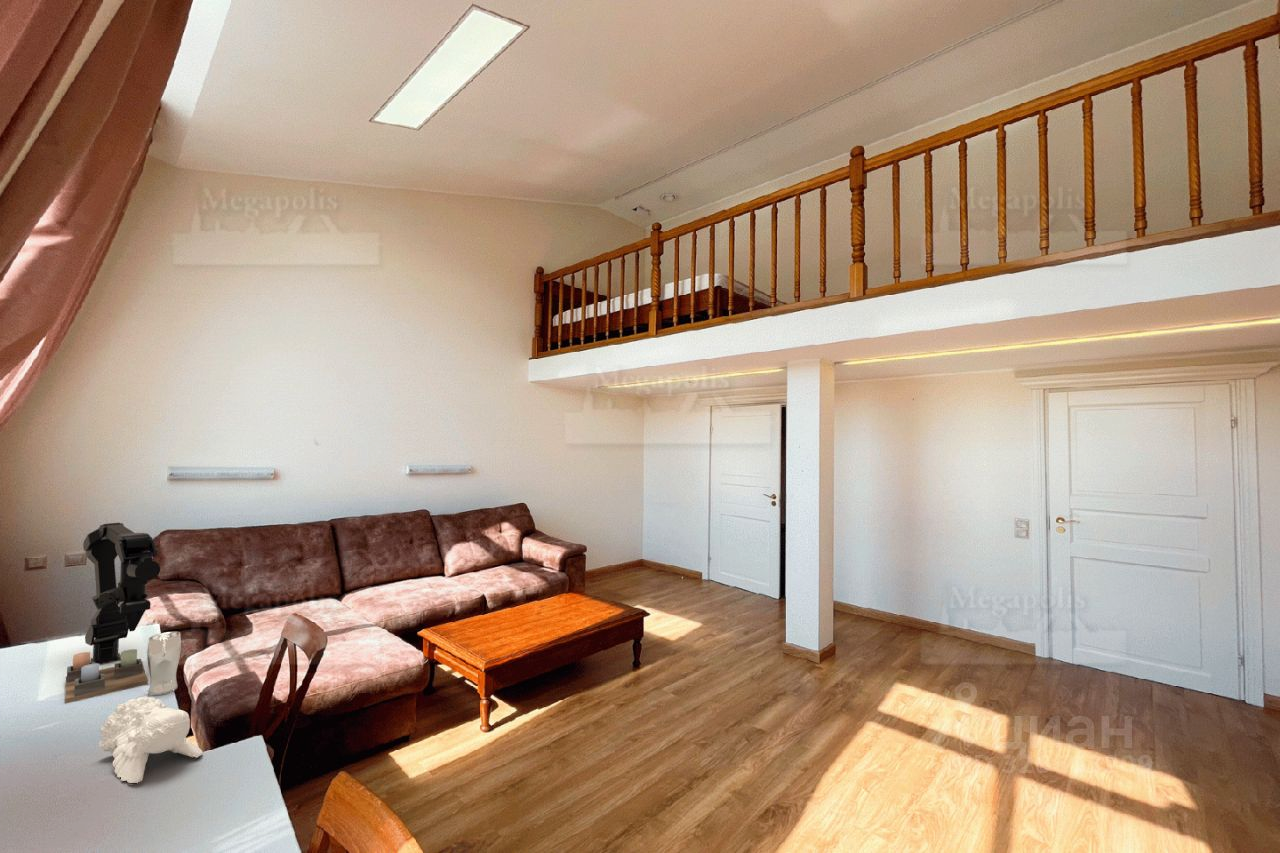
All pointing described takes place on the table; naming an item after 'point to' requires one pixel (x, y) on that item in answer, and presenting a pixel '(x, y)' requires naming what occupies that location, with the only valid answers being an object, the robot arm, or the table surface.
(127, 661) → the sage button
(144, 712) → the white curly sculpture
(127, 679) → the button panel
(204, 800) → the table surface
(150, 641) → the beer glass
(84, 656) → the terracotta button
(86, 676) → the slate button
